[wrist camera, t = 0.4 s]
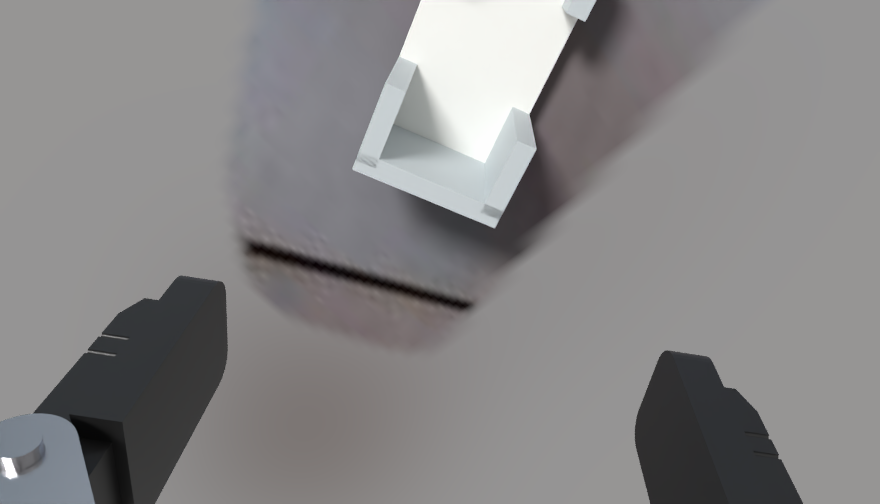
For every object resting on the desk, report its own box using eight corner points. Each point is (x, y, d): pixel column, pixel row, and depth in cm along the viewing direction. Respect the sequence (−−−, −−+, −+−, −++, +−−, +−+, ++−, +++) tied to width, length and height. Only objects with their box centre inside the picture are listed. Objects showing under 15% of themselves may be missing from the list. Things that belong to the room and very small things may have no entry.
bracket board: (467, -117, 31) (463, -119, 25) (607, -48, 32) (633, -35, 26) (372, 127, 37) (352, 169, 31) (492, 178, 38) (494, 228, 32)
